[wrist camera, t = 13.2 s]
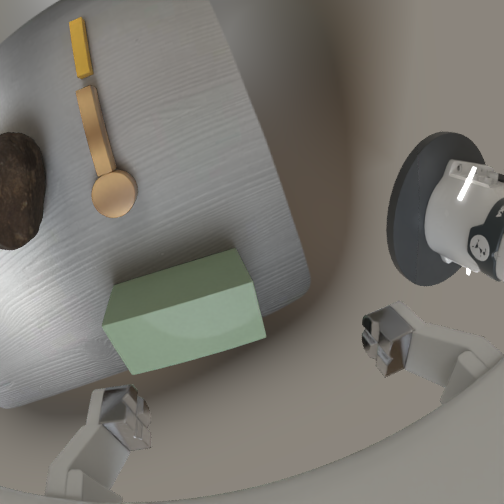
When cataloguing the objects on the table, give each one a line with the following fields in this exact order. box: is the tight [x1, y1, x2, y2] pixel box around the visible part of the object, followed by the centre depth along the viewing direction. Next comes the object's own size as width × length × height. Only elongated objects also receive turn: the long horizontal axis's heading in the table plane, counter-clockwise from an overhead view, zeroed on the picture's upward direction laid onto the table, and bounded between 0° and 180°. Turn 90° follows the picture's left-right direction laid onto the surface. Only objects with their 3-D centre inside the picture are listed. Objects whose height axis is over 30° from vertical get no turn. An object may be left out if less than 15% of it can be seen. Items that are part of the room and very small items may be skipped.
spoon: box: [76, 85, 138, 218], centre depth 25 cm, size 14×5×2 cm, turn 12°
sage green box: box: [102, 248, 266, 375], centre depth 31 cm, size 15×7×8 cm, turn 102°
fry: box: [69, 17, 93, 79], centre depth 20 cm, size 1×7×1 cm, turn 12°
